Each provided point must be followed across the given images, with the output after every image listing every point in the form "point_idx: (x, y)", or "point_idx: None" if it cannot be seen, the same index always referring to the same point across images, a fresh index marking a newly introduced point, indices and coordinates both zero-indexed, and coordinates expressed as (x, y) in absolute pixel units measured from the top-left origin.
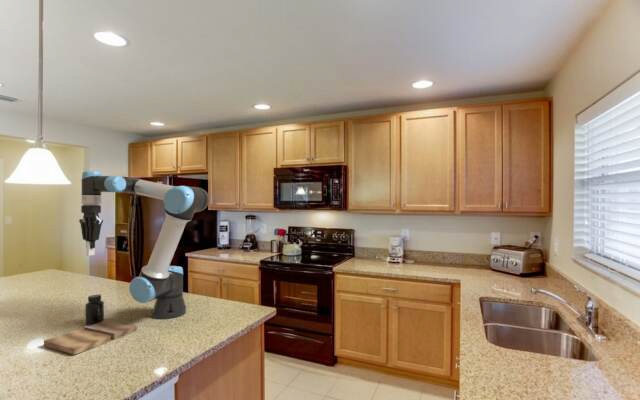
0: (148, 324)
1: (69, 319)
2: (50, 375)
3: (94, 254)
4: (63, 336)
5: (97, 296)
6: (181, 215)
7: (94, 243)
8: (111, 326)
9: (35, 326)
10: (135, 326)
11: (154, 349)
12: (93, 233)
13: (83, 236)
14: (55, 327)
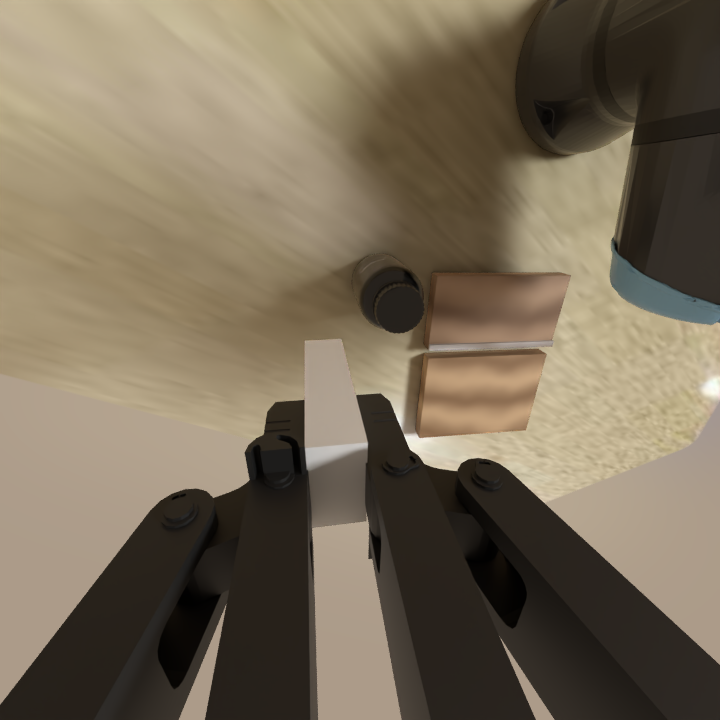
0: (565, 216)
1: (260, 296)
2: (538, 468)
3: (341, 340)
4: (437, 407)
5: (420, 311)
6: None
7: (402, 441)
8: (498, 311)
9: (235, 377)
10: (569, 280)
11: (666, 335)
12: (555, 684)
13: (190, 636)
14: (302, 356)
